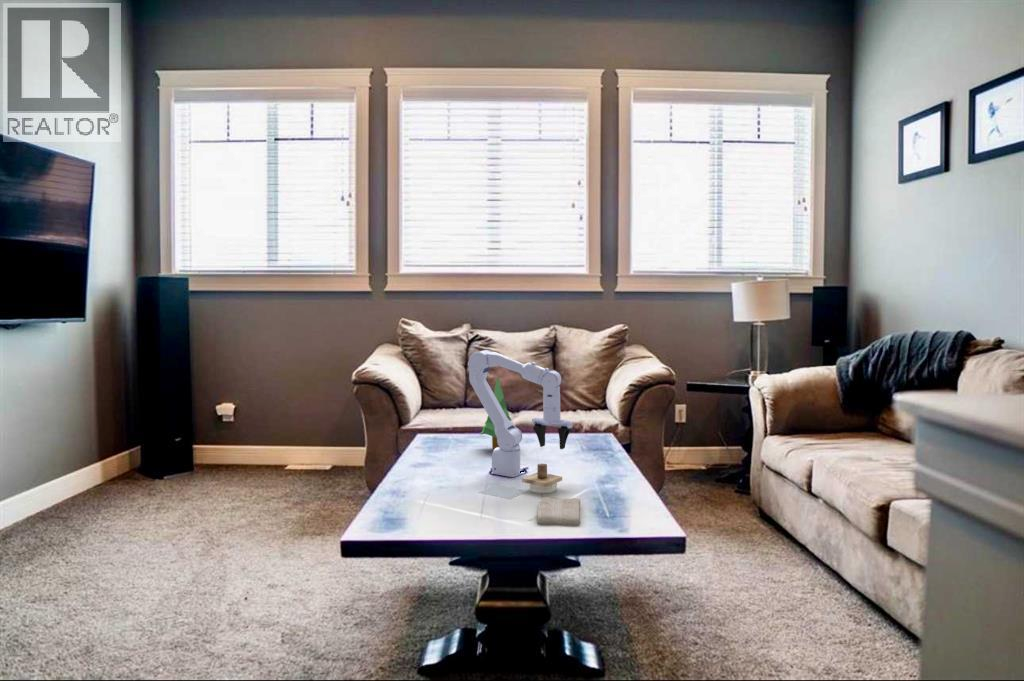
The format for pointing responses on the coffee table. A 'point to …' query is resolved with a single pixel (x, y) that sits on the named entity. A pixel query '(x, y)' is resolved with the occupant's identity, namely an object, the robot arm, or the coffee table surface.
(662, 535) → the coffee table surface
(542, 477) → the lid
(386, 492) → the coffee table surface
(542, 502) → the washcloth
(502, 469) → the robot arm
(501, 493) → the mat
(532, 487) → the bowl
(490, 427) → the decorative tree
